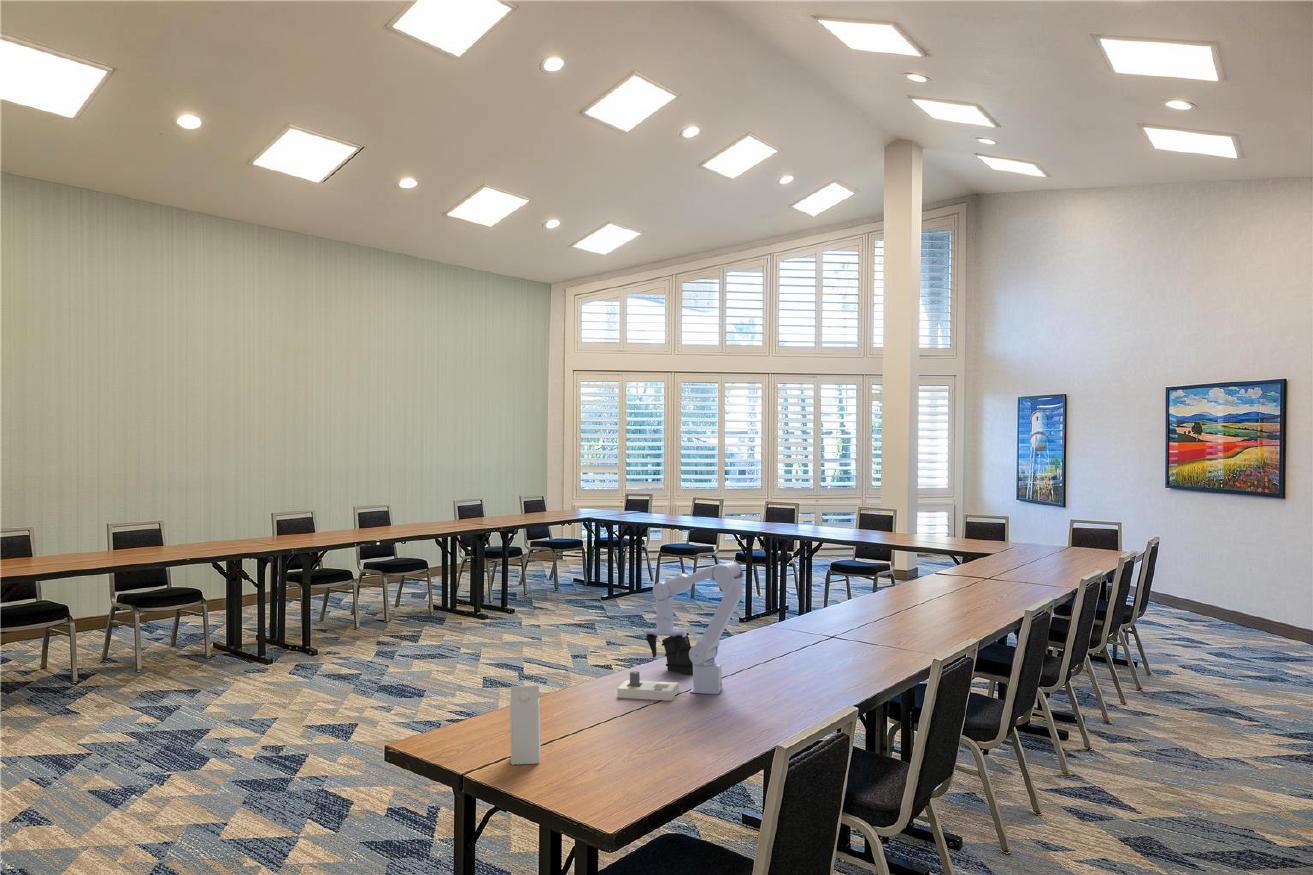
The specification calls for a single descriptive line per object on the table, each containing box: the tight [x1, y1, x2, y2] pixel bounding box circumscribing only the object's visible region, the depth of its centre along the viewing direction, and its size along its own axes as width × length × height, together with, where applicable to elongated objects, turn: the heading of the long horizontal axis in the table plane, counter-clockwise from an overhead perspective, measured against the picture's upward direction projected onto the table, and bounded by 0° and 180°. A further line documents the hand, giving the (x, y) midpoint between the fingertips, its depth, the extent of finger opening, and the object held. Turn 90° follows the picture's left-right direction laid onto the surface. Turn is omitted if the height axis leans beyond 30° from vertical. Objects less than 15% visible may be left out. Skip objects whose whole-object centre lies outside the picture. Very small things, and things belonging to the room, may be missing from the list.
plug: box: [629, 670, 641, 687], centre depth 274 cm, size 3×3×7 cm
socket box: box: [616, 679, 680, 701], centre depth 273 cm, size 18×10×3 cm, turn 75°
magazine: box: [661, 631, 693, 676], centre depth 301 cm, size 4×13×15 cm, turn 44°
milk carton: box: [509, 685, 542, 766], centre depth 217 cm, size 7×7×19 cm
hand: (665, 657), depth 284 cm, fingers open, 7 cm apart
